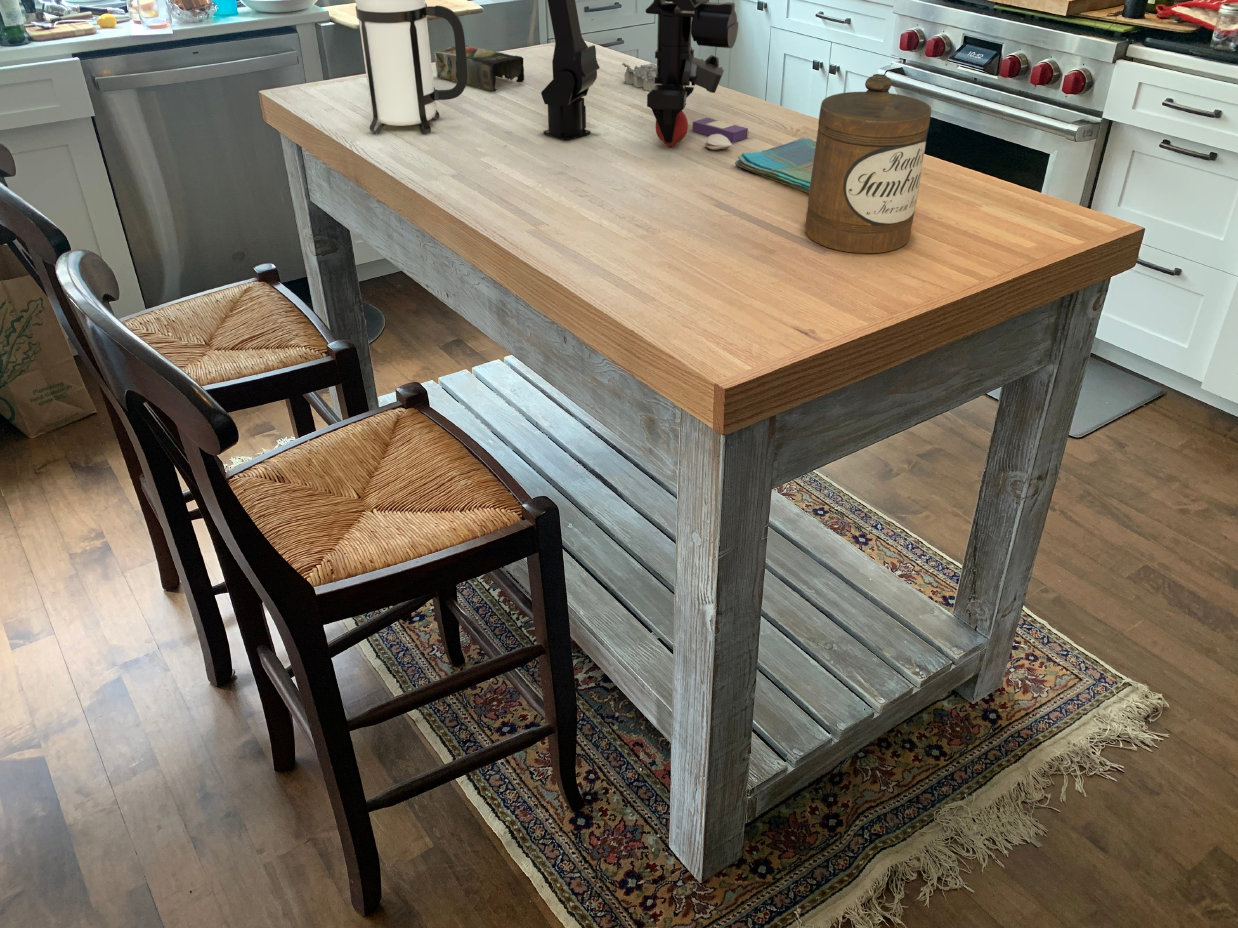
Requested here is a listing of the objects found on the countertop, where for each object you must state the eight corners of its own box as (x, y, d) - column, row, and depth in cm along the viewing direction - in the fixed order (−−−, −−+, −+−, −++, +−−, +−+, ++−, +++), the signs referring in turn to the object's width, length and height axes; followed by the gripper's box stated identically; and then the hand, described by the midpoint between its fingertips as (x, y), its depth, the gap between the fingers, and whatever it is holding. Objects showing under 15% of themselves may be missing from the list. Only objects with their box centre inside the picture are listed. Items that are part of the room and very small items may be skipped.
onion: (687, 152, 174) (689, 106, 169) (655, 152, 174) (656, 105, 169) (686, 142, 179) (688, 97, 174) (654, 142, 179) (655, 97, 174)
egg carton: (619, 82, 215) (619, 62, 213) (648, 77, 218) (648, 58, 216) (647, 92, 207) (647, 72, 205) (676, 87, 211) (676, 67, 208)
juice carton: (431, 77, 218) (428, 47, 215) (465, 69, 224) (463, 41, 221) (492, 94, 207) (491, 63, 204) (526, 85, 213) (525, 55, 210)
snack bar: (747, 138, 181) (748, 127, 180) (733, 143, 178) (733, 132, 177) (706, 127, 187) (706, 117, 186) (692, 131, 184) (692, 121, 183)
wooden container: (859, 263, 134) (884, 95, 121) (783, 230, 144) (799, 72, 131) (931, 238, 141) (962, 78, 128) (854, 208, 151) (875, 57, 138)
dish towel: (806, 149, 175) (807, 135, 174) (909, 185, 160) (912, 169, 158) (733, 168, 167) (734, 153, 165) (834, 207, 151) (836, 191, 150)
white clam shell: (714, 144, 178) (715, 130, 176) (737, 150, 175) (738, 135, 174) (700, 150, 175) (701, 136, 174) (724, 155, 172) (725, 141, 171)
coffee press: (392, 144, 178) (369, -41, 161) (351, 124, 188) (325, -52, 171) (474, 126, 187) (459, -50, 170) (430, 108, 197) (413, -60, 180)
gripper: (716, 58, 158) (710, 155, 166) (727, 33, 173) (721, 124, 182) (647, 55, 159) (645, 151, 168) (664, 31, 174) (662, 121, 183)
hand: (671, 136), depth 175 cm, fingers open, 7 cm apart
